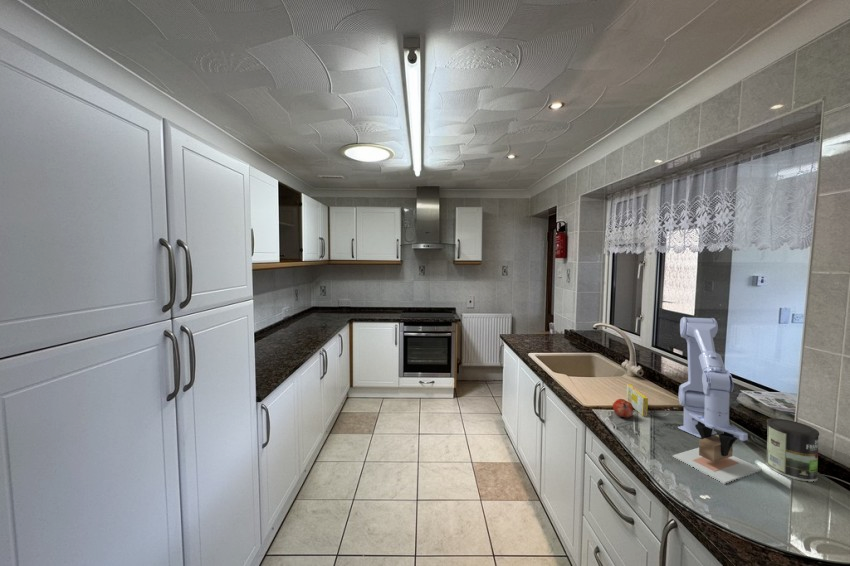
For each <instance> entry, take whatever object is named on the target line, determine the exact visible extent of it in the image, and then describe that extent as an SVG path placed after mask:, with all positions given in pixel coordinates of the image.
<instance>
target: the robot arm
mask: <svg viewBox="0 0 850 566" xmlns="http://www.w3.org/2000/svg"><path fill="white" fill-rule="evenodd" d="M718 324H719V323H718V321H717V320H716V319H715V318H714V317H711V318H707V317H686V316H683V317H681V318H680V322H679V333H680V337H681V338H683V339H685V340H686V343H687V345H686V346H687V350H686V351H687V381H686V382H684V383H681V384H680V385H679V386H678V395H677V397H678V401H679V402H678V403H679V404H680V406H682V407H683V421H682V422H683V425H680V426H679V425H678V426H677V428H678V429H679V430H681V431H683V432H686V433H687V434H691V435H692V436H694V437H697V438H699V439H704V438H708V437H711V436H714V435H719V438H720V442H721V455H722V456H727V455H728V453H729V450H730V448H731V446H732V445H734V443H735V442H736V441H737V440H738V439H739V440H740V441H741V442H745V441H748V440H749V439H748V437H749V436H748V433H746V432H744V431H742V430H740V429H738V428H736V427H734V426H732V425H730V393H732V392H733V390H734V379H733V376H732V374H731V373H730V372H729V370H728V369H726V367H725V364H724V361H723V359H722V355H721V354H720V353H718V352H716V348H715V343H714V338H715V337H716V336H717V333H718V330H719V325H718ZM715 430H716V431H715ZM717 431H719V432H721V433H719V434H717V433H718V432H717Z"/></svg>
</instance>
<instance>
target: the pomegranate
mask: <svg viewBox="0 0 850 566" xmlns="http://www.w3.org/2000/svg"><path fill="white" fill-rule="evenodd" d="M612 409H613V411H614V413H615V414H616V415H617V416H619V417H620V418H626V419H629V418H631V417H632V416H633V413H634V408H633V406H632V404H631V403H629V402H627V401H626V399H623V398H619V399H616V400H615V401H614V402H613V403H612Z"/></svg>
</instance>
